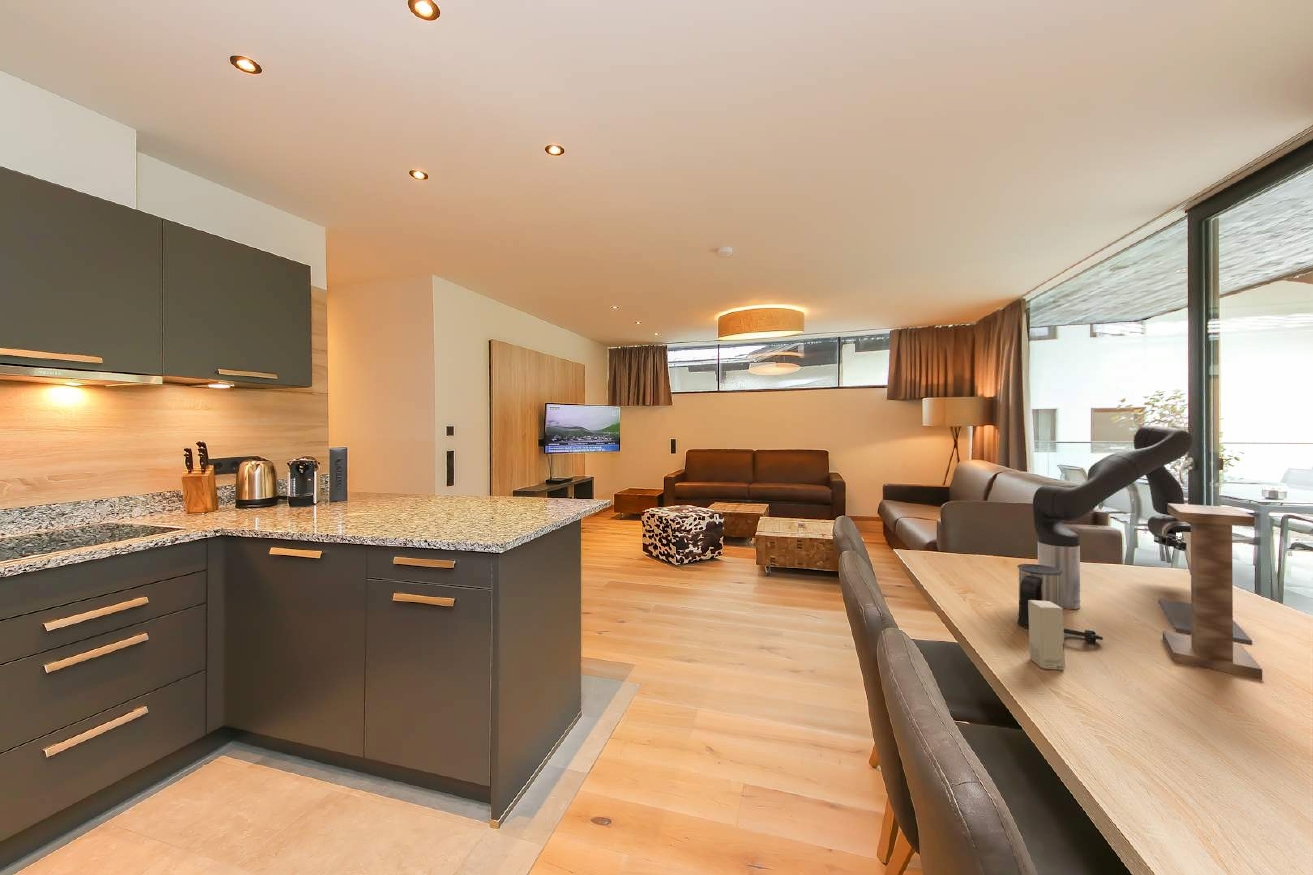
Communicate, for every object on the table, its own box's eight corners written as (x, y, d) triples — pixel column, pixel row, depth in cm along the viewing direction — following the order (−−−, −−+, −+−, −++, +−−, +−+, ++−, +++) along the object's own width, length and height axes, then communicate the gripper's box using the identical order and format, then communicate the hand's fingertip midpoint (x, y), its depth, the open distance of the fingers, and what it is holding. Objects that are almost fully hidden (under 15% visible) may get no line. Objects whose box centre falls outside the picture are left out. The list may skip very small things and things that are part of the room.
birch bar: (1198, 604, 119) (1199, 595, 118) (1181, 540, 135) (1182, 531, 134) (1216, 607, 117) (1218, 598, 116) (1197, 541, 133) (1198, 532, 132)
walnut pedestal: (1174, 662, 103) (1173, 511, 102) (1162, 638, 114) (1161, 502, 114) (1263, 680, 95) (1262, 517, 95) (1240, 652, 107) (1239, 507, 106)
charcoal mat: (1175, 631, 118) (1175, 627, 118) (1158, 601, 138) (1158, 598, 138) (1252, 643, 111) (1252, 640, 111) (1221, 610, 131) (1221, 607, 131)
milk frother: (1017, 616, 129) (1016, 561, 129) (1097, 630, 120) (1096, 570, 119) (1017, 635, 118) (1016, 574, 118) (1105, 651, 108) (1104, 585, 108)
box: (1066, 671, 100) (1065, 608, 100) (1041, 669, 101) (1041, 607, 101) (1050, 659, 105) (1050, 600, 105) (1027, 657, 106) (1027, 599, 106)
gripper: (1147, 520, 147) (1156, 530, 134) (1217, 525, 138) (1234, 536, 125) (1147, 545, 147) (1157, 557, 134) (1217, 551, 138) (1235, 565, 125)
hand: (1194, 547), depth 129 cm, fingers closed on birch bar, 3 cm apart
